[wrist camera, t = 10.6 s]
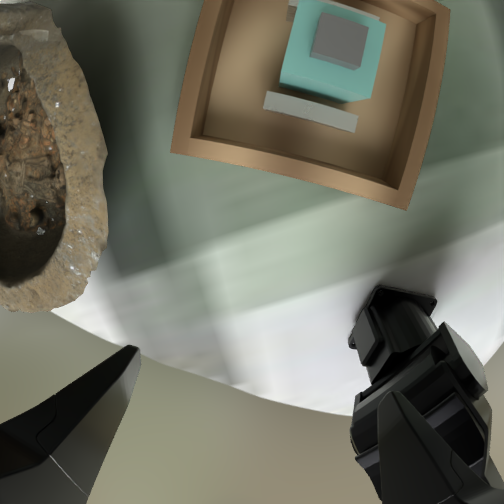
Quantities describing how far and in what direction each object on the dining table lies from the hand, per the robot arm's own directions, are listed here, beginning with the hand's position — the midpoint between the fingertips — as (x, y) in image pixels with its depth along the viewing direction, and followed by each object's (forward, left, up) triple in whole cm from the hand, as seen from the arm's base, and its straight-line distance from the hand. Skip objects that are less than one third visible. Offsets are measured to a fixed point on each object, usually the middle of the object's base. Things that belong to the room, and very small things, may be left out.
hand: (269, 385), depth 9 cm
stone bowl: (+22, -3, -13) cm, 26 cm away
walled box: (0, -12, -13) cm, 18 cm away
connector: (0, -12, -12) cm, 17 cm away
